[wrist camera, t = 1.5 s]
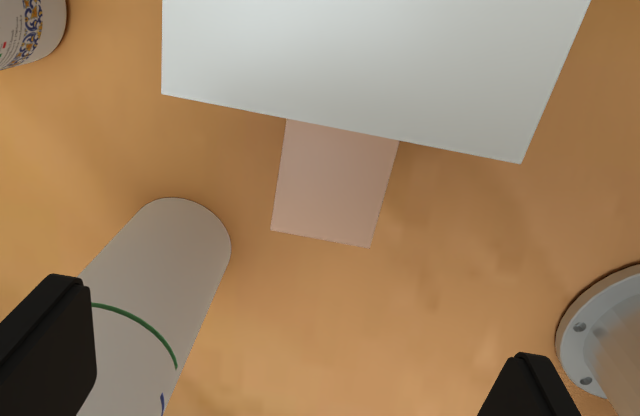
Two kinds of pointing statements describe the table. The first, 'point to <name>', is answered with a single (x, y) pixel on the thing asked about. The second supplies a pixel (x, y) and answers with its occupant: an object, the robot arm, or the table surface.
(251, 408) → the table surface
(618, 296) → the robot arm
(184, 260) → the cylindrical container
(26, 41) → the bath foam
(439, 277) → the table surface
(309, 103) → the lid
